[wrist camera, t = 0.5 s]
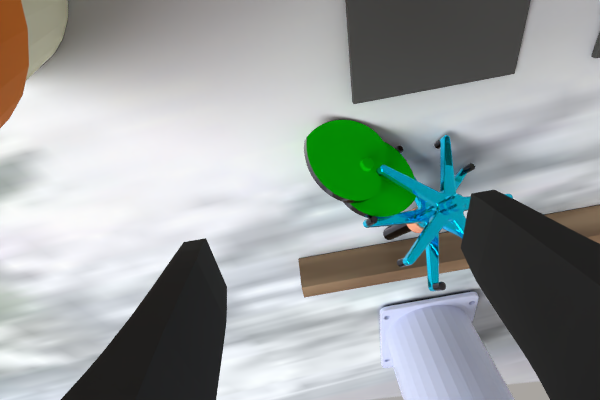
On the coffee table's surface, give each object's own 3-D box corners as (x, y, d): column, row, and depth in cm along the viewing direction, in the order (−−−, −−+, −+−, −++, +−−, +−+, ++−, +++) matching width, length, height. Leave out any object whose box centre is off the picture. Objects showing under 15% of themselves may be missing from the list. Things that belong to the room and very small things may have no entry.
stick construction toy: (538, 175, 18) (519, 315, 15) (451, 212, 25) (426, 316, 21) (343, 65, 17) (280, 191, 14) (306, 134, 24) (256, 231, 20)
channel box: (727, 192, 23) (771, 215, 21) (300, 268, 24) (304, 297, 22) (1086, -284, 11) (1262, -333, 9) (212, -103, 12) (202, -113, 10)
